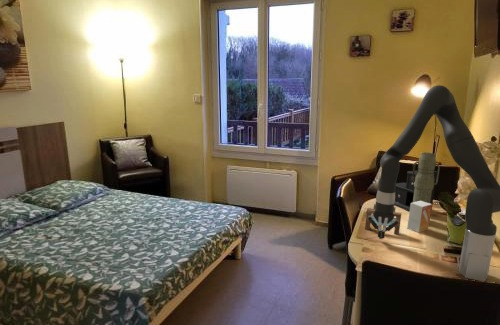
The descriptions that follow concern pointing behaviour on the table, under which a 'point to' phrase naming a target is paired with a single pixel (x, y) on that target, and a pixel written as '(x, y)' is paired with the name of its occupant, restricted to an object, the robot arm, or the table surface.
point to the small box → (419, 216)
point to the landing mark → (382, 223)
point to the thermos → (424, 177)
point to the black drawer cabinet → (408, 192)
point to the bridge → (396, 214)
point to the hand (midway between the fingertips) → (380, 238)
